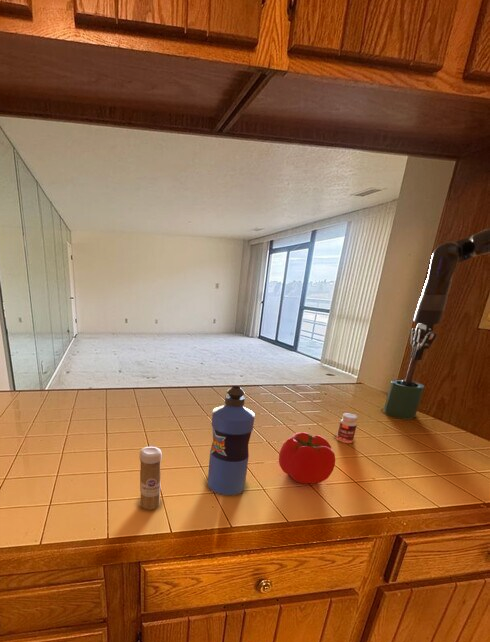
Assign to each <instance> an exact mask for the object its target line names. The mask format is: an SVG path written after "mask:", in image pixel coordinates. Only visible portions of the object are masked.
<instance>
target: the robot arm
mask: <svg viewBox="0 0 490 642" xmlns="http://www.w3.org/2000/svg"><path fill="white" fill-rule="evenodd" d="M488 254H490V227H489V228H486V229H483V230H481V231H478V232H476V233H474V234H472V235H470V236H466V237H464V238H461V239H458V240H455V241H446V242H443V243H441V244H439V246H437V247H436V248H435V249H434V251H433V253H432V255H431V259H430V264H429V269H428V274H427V278H426V280H425V283H424V286H423V289H422V292H421V296H420V298H419V300H418V303H417V307H416V310H415V313H414V317H413V322H414V323H417V324H416V327H415V328H411V330H410V345H411V348H412V350H411V353H410V356H409V358H410V359H412V355H413V352H414V349H415V345H417V349H416V352H415V355H414V358H413V359H414V360H419V361H422V358H423V356H424V352H425V351H426V350H428V349H430V347H431V345H432V344H433V342H434V341H435V339H436V337H437V333H434V328H435V327H434V326H435V325H439V324H441V321H442V318H443V315H444V312H445V308H446V305H447V302H448V296H449V293H450V290H451V286H452V283H453V276H454V274H455V270H456V268H457V265H458V264H459V263H462V262H465V261H467V260H469V259H470V260H471V259H473V258H476V257H480V256H485V255H488Z"/></svg>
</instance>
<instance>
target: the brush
mask: <svg viewBox="0 0 490 642" xmlns="http://www.w3.org/2000/svg"><path fill="white" fill-rule="evenodd" d="M416 349H417V345H415V349H414V352H413V355H412V358H410V363H409V365H408V369H407V373H406V376H405V378H404V379H401V380H402V382H401V385H404V386H410V387H414V384H415V382H416V381H415V380H414V377H415V374H416V370H417V367H418V364H419V361H420V360H414V359H413V358H414V355H415V352H416Z"/></svg>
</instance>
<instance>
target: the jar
mask: <svg viewBox="0 0 490 642" xmlns="http://www.w3.org/2000/svg"><path fill="white" fill-rule="evenodd" d="M402 380H403V379H393V380H391V381H390V385H389V389H388V393H387V396H386V399H385V403H384V406H383V410H382V411H383V413H384V414H385V415H388V416H390V417H393V418H397V419H403V420H405V419H406V420H412V419H415V417H416V415H417V412H418V409H419V406H420V403H421V399H422V397H423V393H424V391H425V388H426V387H425V384H422V383H420V382H416V381H415V384H414V387H410V386H404V385H401V382H402Z"/></svg>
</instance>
